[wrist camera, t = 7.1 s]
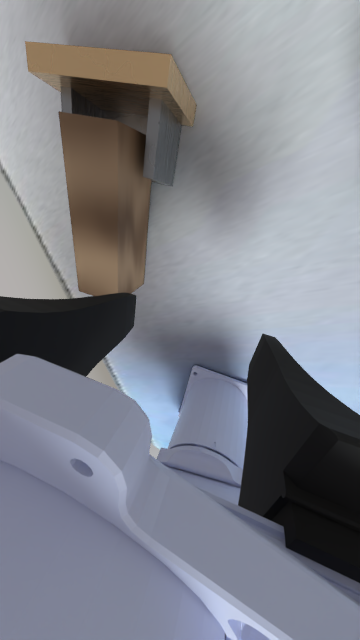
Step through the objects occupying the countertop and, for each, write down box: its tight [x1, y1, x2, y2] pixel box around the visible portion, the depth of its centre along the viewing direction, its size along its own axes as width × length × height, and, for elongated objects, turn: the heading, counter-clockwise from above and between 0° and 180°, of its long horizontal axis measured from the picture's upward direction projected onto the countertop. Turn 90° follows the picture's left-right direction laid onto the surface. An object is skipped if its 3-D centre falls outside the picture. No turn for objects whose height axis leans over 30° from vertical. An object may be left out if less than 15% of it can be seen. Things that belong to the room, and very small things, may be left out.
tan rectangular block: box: [59, 112, 151, 296], centre depth 18 cm, size 12×4×5 cm, turn 169°
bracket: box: [25, 41, 197, 186], centre depth 15 cm, size 5×9×6 cm, turn 79°
